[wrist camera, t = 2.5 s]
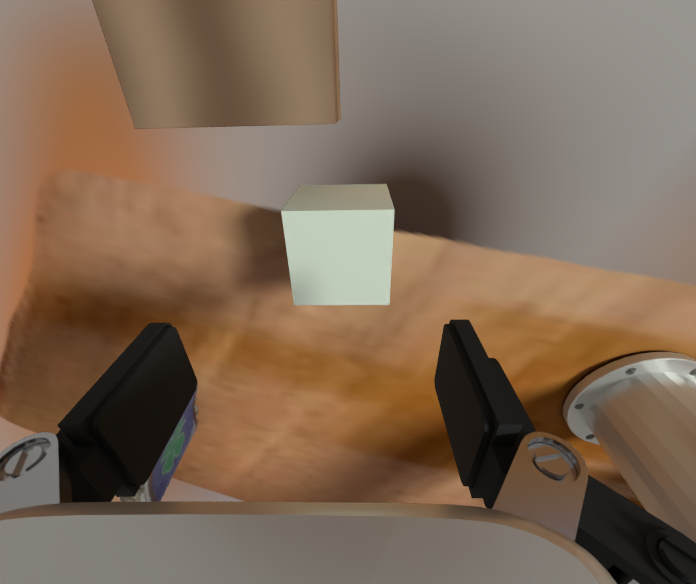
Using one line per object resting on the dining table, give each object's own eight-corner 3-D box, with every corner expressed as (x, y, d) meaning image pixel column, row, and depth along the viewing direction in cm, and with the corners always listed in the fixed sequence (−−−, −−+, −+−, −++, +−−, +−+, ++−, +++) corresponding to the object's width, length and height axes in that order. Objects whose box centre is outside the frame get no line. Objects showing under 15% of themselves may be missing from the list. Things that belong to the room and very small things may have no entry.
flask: (198, 431, 37) (144, 540, 28) (173, 426, 36) (110, 535, 27) (199, 377, 32) (134, 487, 23) (170, 371, 32) (92, 480, 23)
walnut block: (332, -132, 14) (320, -231, 10) (340, 118, 19) (335, 123, 15) (120, -119, 15) (22, -209, 10) (183, 122, 20) (135, 128, 16)
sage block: (386, 183, 22) (394, 209, 16) (383, 262, 25) (389, 304, 19) (299, 185, 22) (280, 211, 17) (307, 263, 25) (294, 304, 20)
